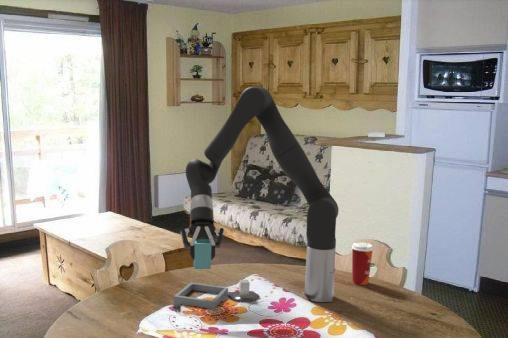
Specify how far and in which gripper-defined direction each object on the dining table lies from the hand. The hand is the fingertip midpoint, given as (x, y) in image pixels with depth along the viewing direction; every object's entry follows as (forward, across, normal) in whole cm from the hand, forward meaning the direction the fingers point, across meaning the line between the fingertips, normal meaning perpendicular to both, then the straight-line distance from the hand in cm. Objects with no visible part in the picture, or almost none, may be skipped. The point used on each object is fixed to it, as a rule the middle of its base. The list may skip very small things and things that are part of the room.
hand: (202, 258), depth 155 cm
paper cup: (-1, +58, +22) cm, 62 cm away
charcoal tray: (+9, 0, +12) cm, 15 cm away
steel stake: (+9, +14, +12) cm, 20 cm away
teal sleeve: (+1, 0, +4) cm, 4 cm away
